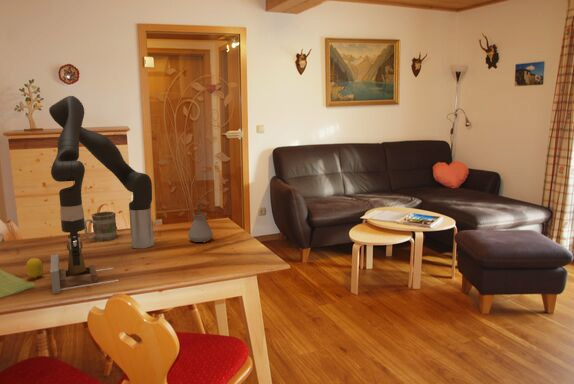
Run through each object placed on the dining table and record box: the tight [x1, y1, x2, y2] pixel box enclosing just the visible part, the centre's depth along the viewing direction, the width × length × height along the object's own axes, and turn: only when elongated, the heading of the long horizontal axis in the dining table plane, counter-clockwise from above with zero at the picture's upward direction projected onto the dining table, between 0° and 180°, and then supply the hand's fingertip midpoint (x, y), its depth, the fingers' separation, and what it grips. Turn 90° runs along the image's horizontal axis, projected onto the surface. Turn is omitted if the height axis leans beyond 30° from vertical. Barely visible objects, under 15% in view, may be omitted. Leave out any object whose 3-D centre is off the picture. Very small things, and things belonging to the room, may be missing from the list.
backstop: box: [49, 253, 119, 295], centre depth 171 cm, size 21×20×8 cm
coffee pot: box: [187, 202, 214, 243], centre depth 224 cm, size 21×12×15 cm, turn 12°
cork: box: [66, 240, 86, 274], centre depth 169 cm, size 6×6×11 cm
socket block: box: [59, 264, 99, 289], centre depth 171 cm, size 12×12×3 cm
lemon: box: [25, 257, 44, 279], centre depth 173 cm, size 6×6×8 cm
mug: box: [83, 211, 118, 243], centre depth 222 cm, size 16×11×12 cm
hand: (76, 263), depth 170 cm, fingers closed on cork, 4 cm apart
